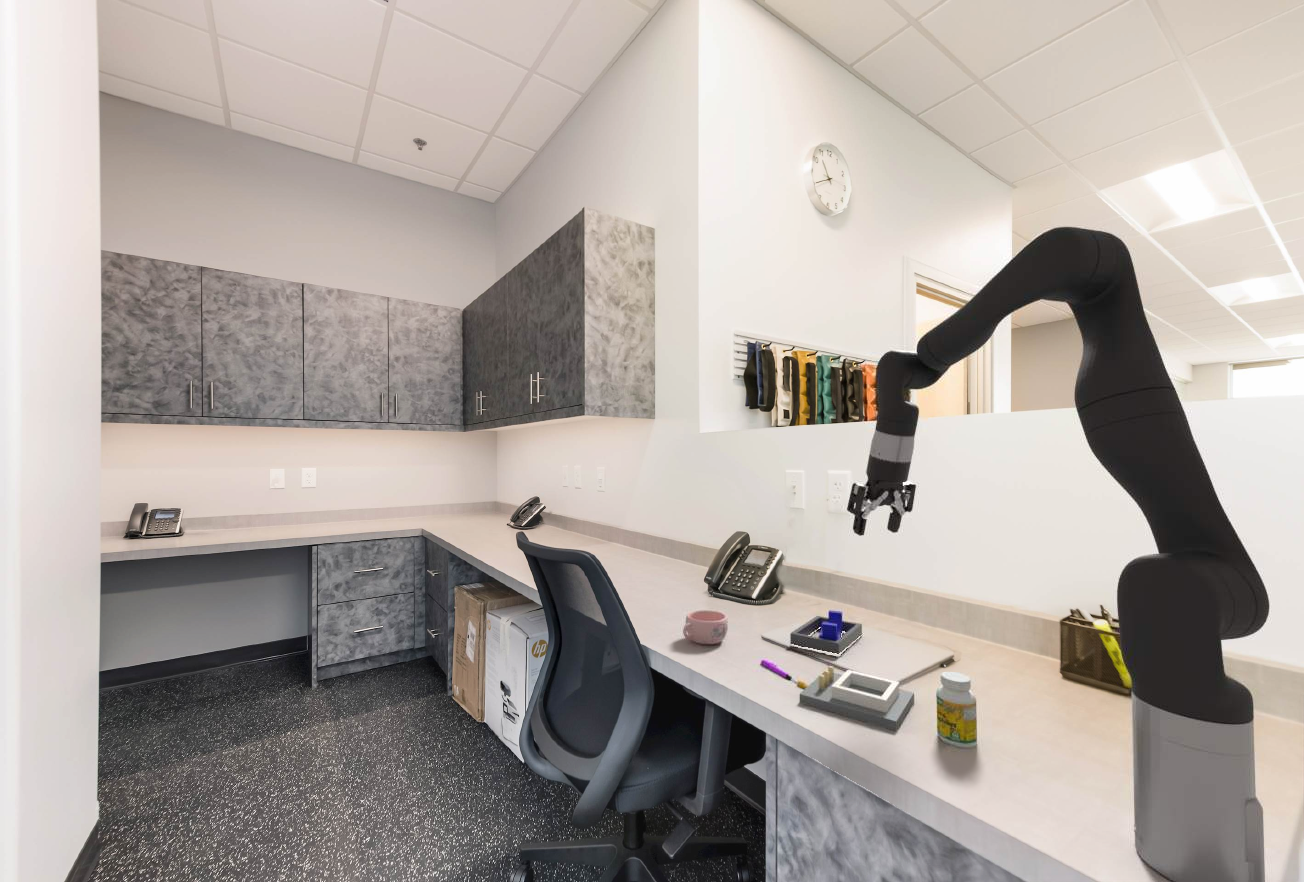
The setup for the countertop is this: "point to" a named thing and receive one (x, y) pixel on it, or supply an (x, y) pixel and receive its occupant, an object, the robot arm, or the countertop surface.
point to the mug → (706, 626)
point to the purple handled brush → (782, 673)
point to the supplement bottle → (956, 711)
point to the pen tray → (838, 646)
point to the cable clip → (832, 626)
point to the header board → (859, 697)
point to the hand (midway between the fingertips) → (875, 532)
